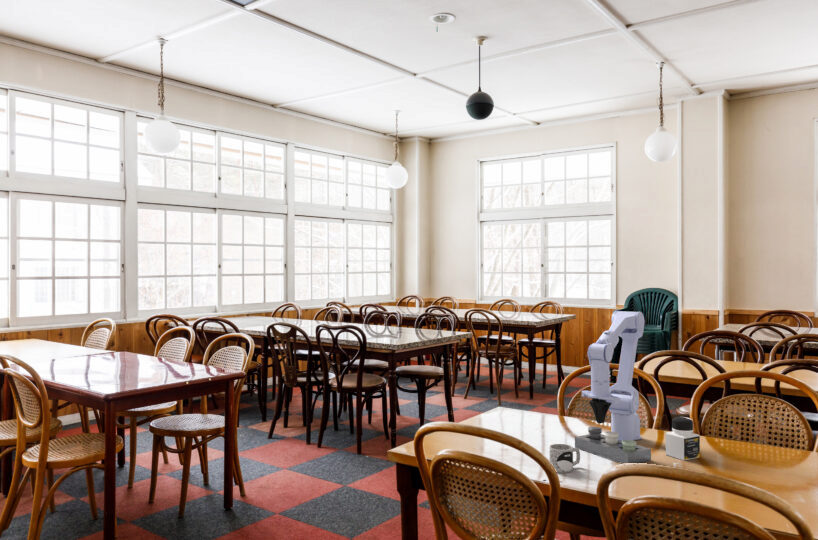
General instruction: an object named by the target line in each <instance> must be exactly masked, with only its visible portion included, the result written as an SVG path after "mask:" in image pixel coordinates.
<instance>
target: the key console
mask: <svg viewBox="0 0 818 540" xmlns="http://www.w3.org/2000/svg"><path fill="white" fill-rule="evenodd" d="M574 448H578V449H579V450H581V451H584V452H586V453H590V454H593V455H595V456H597V457H602V458H605V459H607V460H610V461H613V462H616V463H620V462H621V463H620V464H622V463H637V464H641V463H645V462H650V461H652V449H651V448H649V447H645V446H642V445H639V444H636V447H635V450H633V451H628V450H625V449H623V446H622V440H619V439H618V444H617V445H609V444H606V437H605V434H602V433H601V439H599V440H593V439H590V438H589V433H588V434H584V435H579V436H578V435H577V436H574Z"/></svg>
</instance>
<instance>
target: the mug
mask: <svg viewBox="0 0 818 540" xmlns="http://www.w3.org/2000/svg"><path fill="white" fill-rule="evenodd" d="M574 452H576V453H575V455H576V458H575V460H574ZM580 460H581V452H580V449H578V448H575V447H574V446H572V445H571V444H565V443H552V444H550V445H549V463H550V462H551V463H552V464H553V466H554V468H555V469H556V471H557V473H556V474H569V473H570V474H571V473H572V472H574V467H575V466H576V465H579V464H580Z"/></svg>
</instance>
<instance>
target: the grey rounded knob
mask: <svg viewBox="0 0 818 540" xmlns="http://www.w3.org/2000/svg"><path fill="white" fill-rule="evenodd" d="M587 431H588V434H589V438H590V439H593V440H599V439H601V434H602V432H603V429H602V428H601V427H598V426H589V427H588V429H587Z"/></svg>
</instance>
